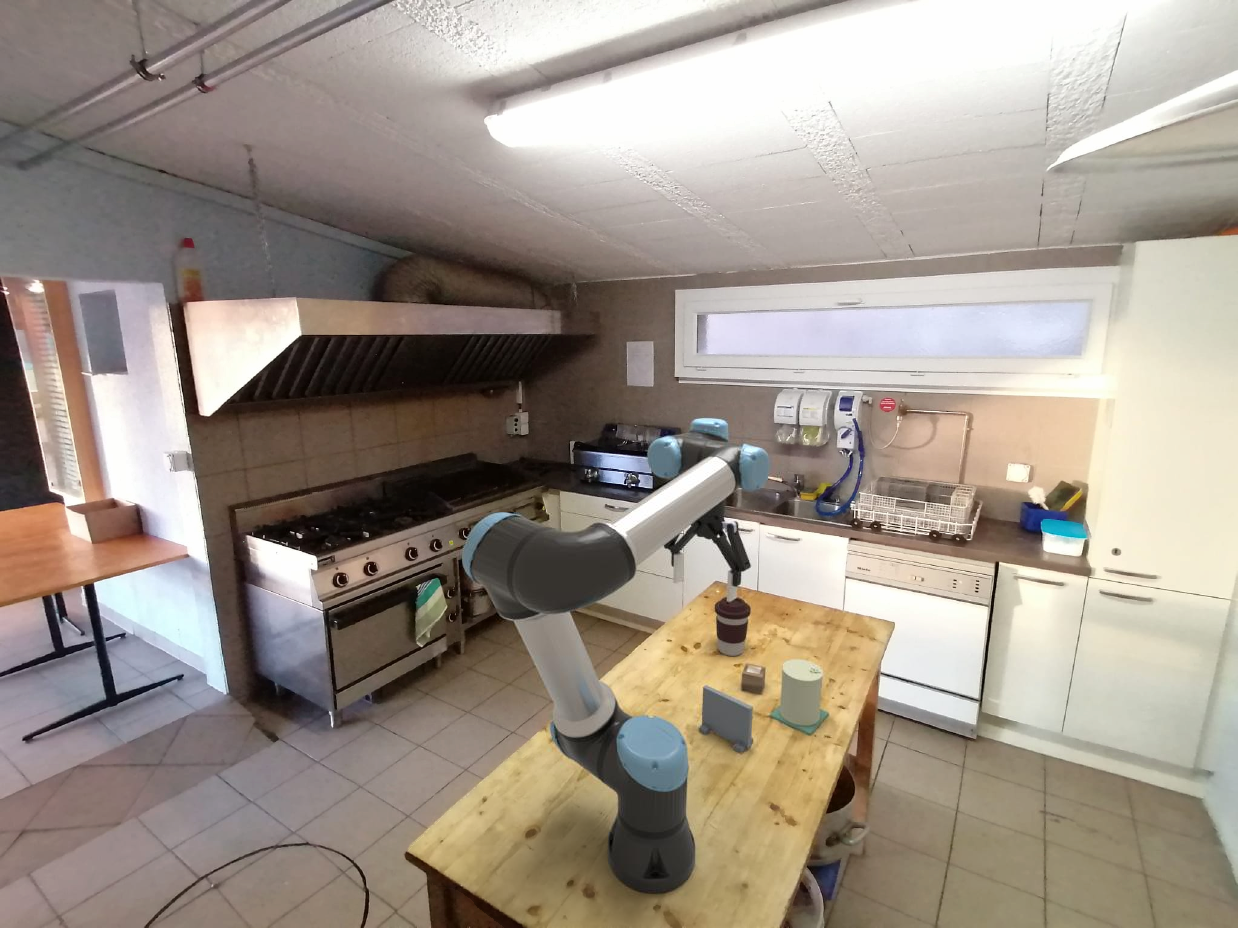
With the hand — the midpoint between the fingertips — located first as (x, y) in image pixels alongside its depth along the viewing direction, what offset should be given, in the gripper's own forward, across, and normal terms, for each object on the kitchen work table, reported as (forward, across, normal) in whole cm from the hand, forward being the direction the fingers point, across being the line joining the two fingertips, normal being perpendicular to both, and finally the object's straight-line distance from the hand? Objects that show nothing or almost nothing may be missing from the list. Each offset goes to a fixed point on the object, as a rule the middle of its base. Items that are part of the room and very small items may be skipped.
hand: (704, 590), depth 126 cm
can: (+34, -14, -21) cm, 43 cm away
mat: (+35, -14, -21) cm, 43 cm away
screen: (+35, -5, -3) cm, 35 cm away
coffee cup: (+35, +14, -36) cm, 52 cm away
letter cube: (+35, 0, -24) cm, 42 cm away
